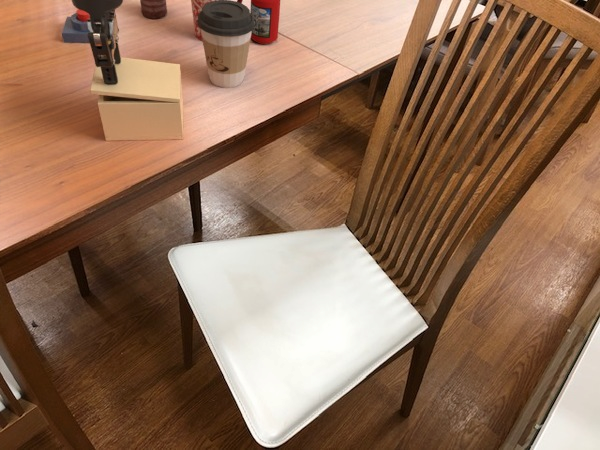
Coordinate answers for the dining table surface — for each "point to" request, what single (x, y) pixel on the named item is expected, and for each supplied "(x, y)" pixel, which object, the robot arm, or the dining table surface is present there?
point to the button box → (75, 30)
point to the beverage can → (265, 20)
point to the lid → (141, 80)
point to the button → (82, 15)
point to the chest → (140, 118)
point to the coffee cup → (226, 40)
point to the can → (154, 8)
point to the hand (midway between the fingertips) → (113, 72)
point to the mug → (197, 3)
